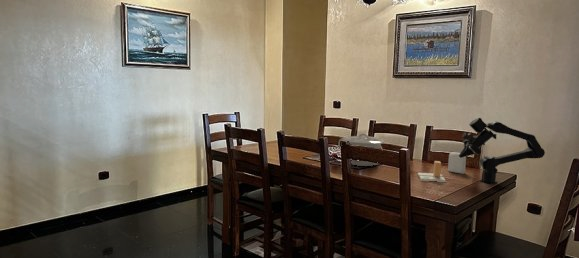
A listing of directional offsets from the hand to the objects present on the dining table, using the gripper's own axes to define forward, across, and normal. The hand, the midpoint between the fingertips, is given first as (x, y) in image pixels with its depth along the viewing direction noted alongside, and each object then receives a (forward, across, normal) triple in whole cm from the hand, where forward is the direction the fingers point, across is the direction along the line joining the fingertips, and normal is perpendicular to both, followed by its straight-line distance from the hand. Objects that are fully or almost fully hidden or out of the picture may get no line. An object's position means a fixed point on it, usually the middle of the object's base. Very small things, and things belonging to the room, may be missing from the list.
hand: (459, 156), depth 225 cm
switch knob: (+17, 0, +1) cm, 17 cm away
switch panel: (+20, 0, -1) cm, 20 cm away
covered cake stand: (+48, -27, -28) cm, 62 cm away
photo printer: (+7, -20, +12) cm, 25 cm away
